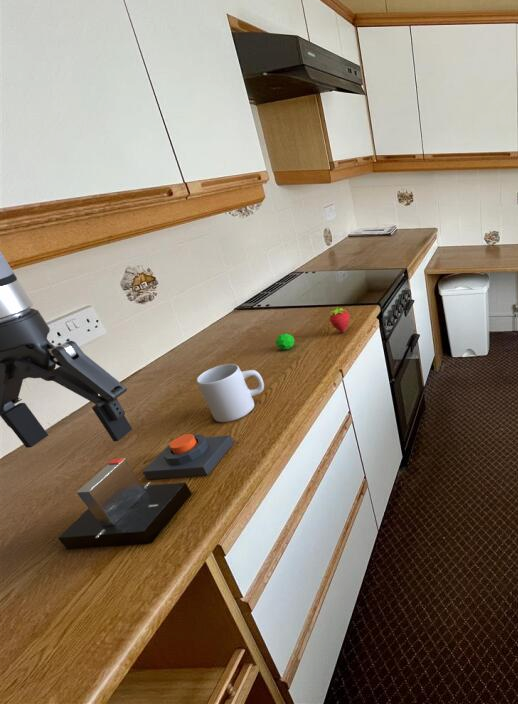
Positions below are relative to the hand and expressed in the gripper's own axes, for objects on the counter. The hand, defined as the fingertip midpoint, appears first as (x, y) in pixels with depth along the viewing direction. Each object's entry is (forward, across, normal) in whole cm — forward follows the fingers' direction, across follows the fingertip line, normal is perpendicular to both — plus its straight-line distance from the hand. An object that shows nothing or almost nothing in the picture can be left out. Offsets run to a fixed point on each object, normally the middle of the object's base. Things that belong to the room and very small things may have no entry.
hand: (80, 438), depth 64 cm
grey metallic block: (+15, 0, 0) cm, 15 cm away
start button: (+15, -1, -14) cm, 20 cm away
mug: (+19, -2, -31) cm, 36 cm away
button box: (+18, -1, -14) cm, 23 cm away
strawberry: (+19, -13, -69) cm, 73 cm away
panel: (+18, 0, 0) cm, 18 cm away
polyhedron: (+19, +2, -61) cm, 63 cm away
